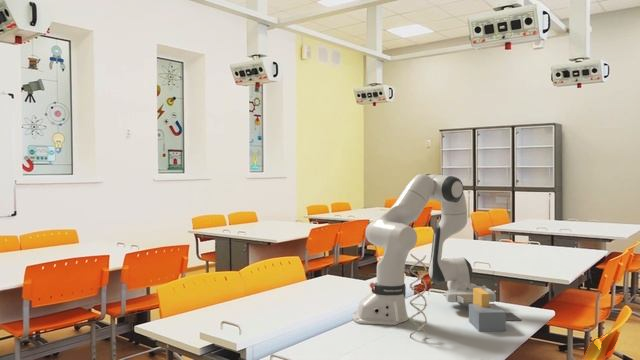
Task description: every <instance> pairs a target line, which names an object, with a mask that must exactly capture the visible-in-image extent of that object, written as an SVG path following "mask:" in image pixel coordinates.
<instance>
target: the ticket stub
mask: <svg viewBox="0 0 640 360" xmlns="http://www.w3.org/2000/svg"><path fill="white" fill-rule="evenodd" d="M472 304H478V305H479V306H480V307H489V304H490V302H489V294H488V293H487V292H486V291H484V290H483V289H481V288H473V302H472Z"/></svg>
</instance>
